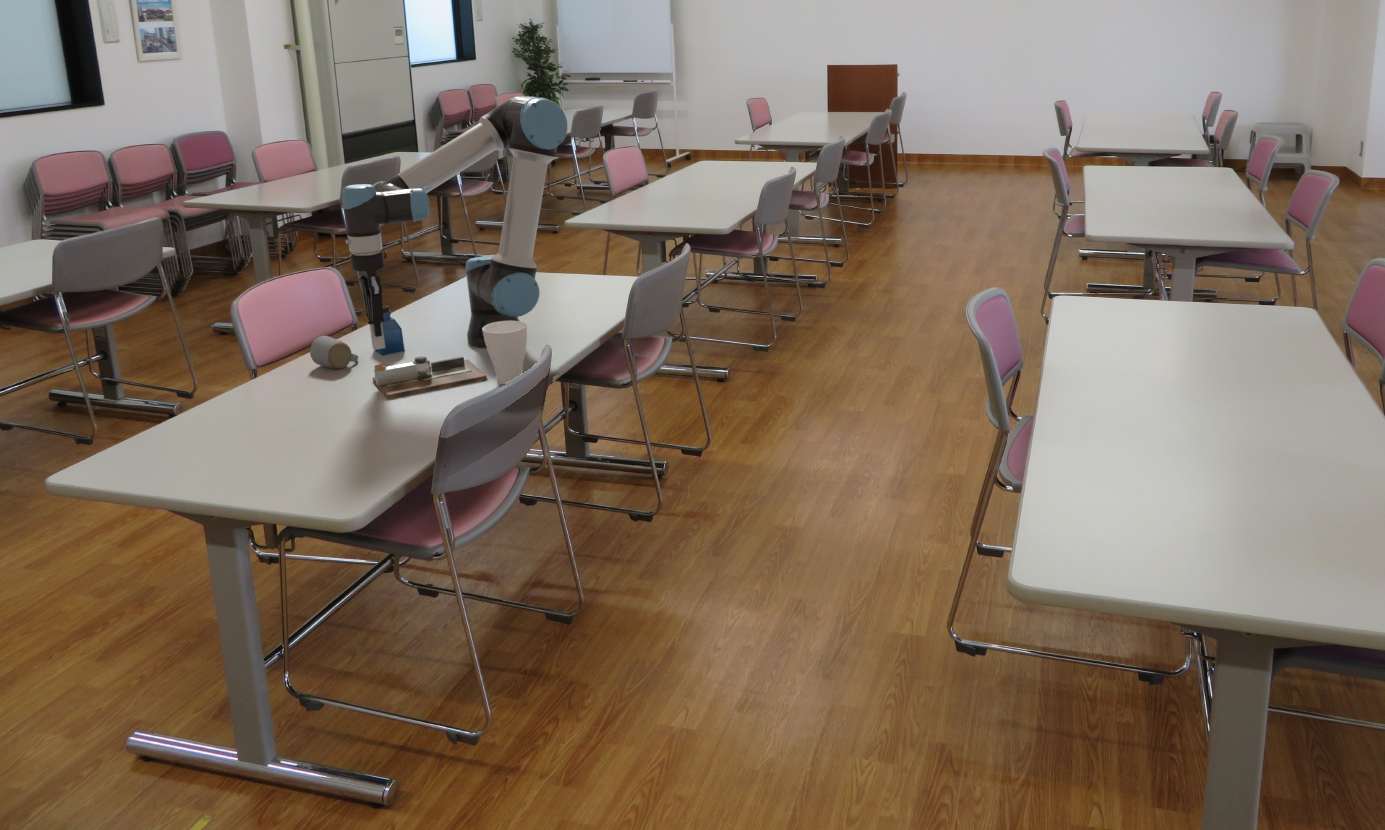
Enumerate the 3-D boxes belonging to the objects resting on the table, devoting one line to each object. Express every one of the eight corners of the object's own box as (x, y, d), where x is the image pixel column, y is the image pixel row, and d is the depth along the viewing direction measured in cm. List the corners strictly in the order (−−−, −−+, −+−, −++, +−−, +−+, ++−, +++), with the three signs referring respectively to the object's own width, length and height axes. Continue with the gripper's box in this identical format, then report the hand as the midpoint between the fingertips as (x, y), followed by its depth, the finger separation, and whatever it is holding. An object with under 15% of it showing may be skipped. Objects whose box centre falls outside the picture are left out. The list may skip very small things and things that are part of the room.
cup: (504, 371, 263) (499, 318, 258) (540, 376, 258) (535, 322, 253) (479, 384, 254) (473, 330, 249) (515, 390, 250) (510, 335, 245)
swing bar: (428, 371, 260) (426, 355, 258) (433, 376, 256) (431, 359, 255) (375, 381, 254) (372, 364, 253) (379, 386, 251) (376, 369, 249)
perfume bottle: (404, 351, 282) (398, 307, 277) (382, 355, 279) (375, 311, 274) (396, 345, 287) (390, 302, 282) (374, 350, 283) (367, 306, 279)
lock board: (468, 363, 270) (465, 341, 268) (486, 379, 257) (484, 356, 255) (373, 381, 259) (369, 358, 257) (387, 398, 247) (384, 375, 245)
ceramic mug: (331, 373, 266) (327, 344, 264) (311, 368, 271) (307, 339, 268) (366, 362, 274) (362, 334, 271) (346, 357, 279) (342, 329, 276)
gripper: (344, 249, 253) (357, 344, 261) (355, 259, 242) (369, 357, 251) (376, 245, 256) (388, 339, 265) (388, 255, 246) (401, 352, 254)
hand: (379, 348), depth 258 cm, fingers closed
